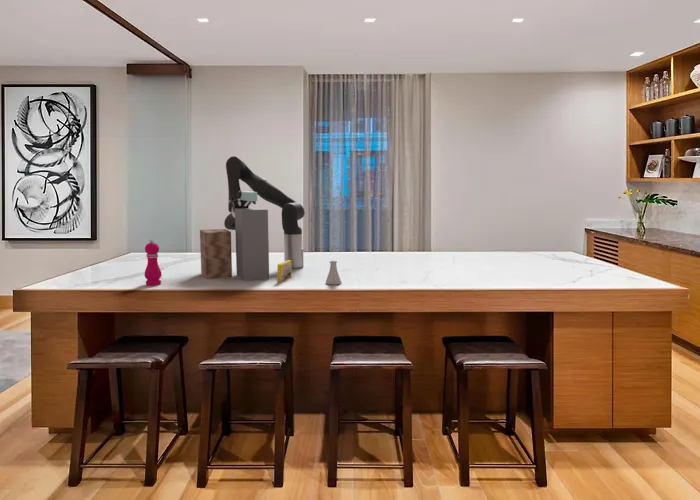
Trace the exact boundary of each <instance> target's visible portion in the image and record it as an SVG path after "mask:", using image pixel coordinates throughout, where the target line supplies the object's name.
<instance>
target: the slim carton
mask: <svg viewBox="0 0 700 500" xmlns="http://www.w3.org/2000/svg"><path fill="white" fill-rule="evenodd" d="M239 192H240V191H239ZM241 193H242V195H241V198H240V200H245V201H256V202H258V195H257V192H254V191H251V190H241Z"/></svg>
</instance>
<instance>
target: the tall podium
mask: <svg viewBox="0 0 700 500" xmlns="http://www.w3.org/2000/svg"><path fill="white" fill-rule="evenodd" d="M234 232H235V258H236V259H235V260H236V262H235V264H236V265H235V268H236V269H235V270H236V276H237V277H238V278H239V277H240V278H239V279H241V280H242V281H243V280H244V281H258V279H260V280H270V255H269V254H270V253H269V252H270V250H269V249H270V248H269V210H268V209H267V208H262V207H248V208H237V209H235V230H234Z"/></svg>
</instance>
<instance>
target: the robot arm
mask: <svg viewBox="0 0 700 500" xmlns="http://www.w3.org/2000/svg"><path fill="white" fill-rule="evenodd" d="M225 169H226V177H227V185H228V187H227V190H228V206H227V207H228V209H227V211H228V212H229V213H230V214H228V215H227V216H226V217H225V219H224V223H223V224H224V225H223V226H224V227H225V229H226V230H228V231H235V209H237V208H250V205H251V204H253V205H256V204H257V201H245V200H240V198H241V195H242V193H241V191H242V190H241V186H240V181H241V182H243V183H244V184H246V185H247V186H248V187H249V188H250V189H251V190H252V192H257V196H259V197H260V198H261V199H263V200H264V201H266V202H268V203H271V204H273V205H275V206H277V207H279V208H280V209H281V225H282V230H283V241H284V242H283V244H284V245H283V246H284V247H283V249H284V250H283V251H284V253H283V254H284V255H283V257H284V260H283V262H285V261H287V260H291V264H292V265H291V269H296V268H297V269H299V268H303V267H304V264H305V263H304V248H303V229H302V228H301V227H300V226H299V223H298V221H299V220H301V219H303V218H304V216H305V212H306V211H305V209H304V207H303V205H302V204H301V203H299V202H298V201H296V200H294V199H292V197H289V196H288V195H286V193H284V192H283V191H282V190H281V189H279V188H278V187H276V186H275V185H274V184H273V183H272V182H271V181H269V180H268V179H266V178H265V177H263V176H261V175H259V174H257V173H256V172H254V171H253V170H252V169H251V168H250V167H249V166H248V165H247V164H246V163H245V162H244V161H243V160H242V159H241V158H240V157H238V156H235V155H234V156H233V155H232V156H230V157H229V158H228V159H227V160H226V162H225ZM239 191H240V192H239Z"/></svg>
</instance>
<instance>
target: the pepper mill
mask: <svg viewBox="0 0 700 500" xmlns="http://www.w3.org/2000/svg"><path fill="white" fill-rule="evenodd" d="M144 252H145V253H146V254H145V255H146V260H147V264H146V267H145V270H144V277H145V279H146V280H145V285H146V286H153V287H154V286H160V285H161V284H162V280H161V277H162V276H163V275H162V270H161V268H160V266H159V263H158V258H159V253H158V252H160V246H159V245H158V244H157V242H156V243H155V240H154V239H150V240H149V243H147V244H145V247H144Z"/></svg>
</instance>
